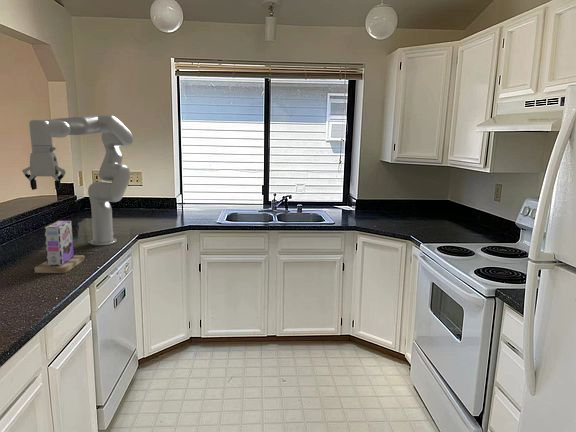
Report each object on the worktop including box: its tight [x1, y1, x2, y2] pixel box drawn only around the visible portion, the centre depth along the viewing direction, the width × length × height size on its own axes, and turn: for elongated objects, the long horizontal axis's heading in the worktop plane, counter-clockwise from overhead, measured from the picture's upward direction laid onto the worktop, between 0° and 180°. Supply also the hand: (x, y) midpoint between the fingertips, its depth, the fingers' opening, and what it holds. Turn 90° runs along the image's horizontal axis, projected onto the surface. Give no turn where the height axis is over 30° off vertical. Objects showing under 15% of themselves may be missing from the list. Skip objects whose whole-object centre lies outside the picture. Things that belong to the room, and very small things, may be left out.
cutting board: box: [34, 254, 85, 274], centre depth 174 cm, size 18×12×2 cm, turn 3°
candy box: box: [43, 220, 75, 266], centre depth 173 cm, size 14×6×16 cm, turn 8°
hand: (46, 189), depth 178 cm, fingers open, 9 cm apart
